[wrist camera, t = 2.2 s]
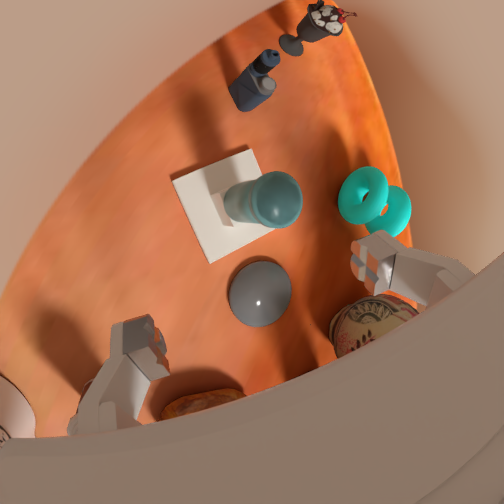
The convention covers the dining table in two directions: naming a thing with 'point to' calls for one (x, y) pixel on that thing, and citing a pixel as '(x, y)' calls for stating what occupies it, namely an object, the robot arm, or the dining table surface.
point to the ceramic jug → (367, 321)
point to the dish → (260, 293)
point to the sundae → (314, 27)
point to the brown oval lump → (199, 402)
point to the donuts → (374, 202)
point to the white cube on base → (218, 204)
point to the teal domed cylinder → (265, 200)
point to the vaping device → (255, 82)
